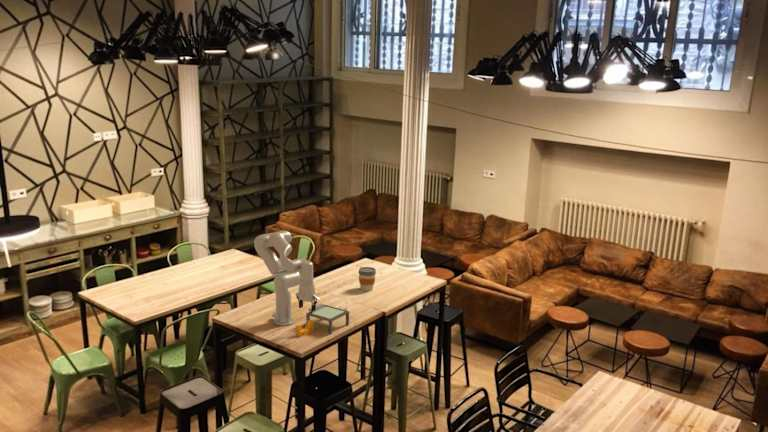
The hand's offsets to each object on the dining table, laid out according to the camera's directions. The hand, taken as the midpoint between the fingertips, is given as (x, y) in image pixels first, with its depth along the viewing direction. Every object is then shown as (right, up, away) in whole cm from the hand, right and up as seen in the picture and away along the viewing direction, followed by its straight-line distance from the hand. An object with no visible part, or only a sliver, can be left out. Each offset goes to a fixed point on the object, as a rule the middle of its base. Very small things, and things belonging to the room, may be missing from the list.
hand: (307, 309), depth 410 cm
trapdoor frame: (+11, -13, +16) cm, 23 cm away
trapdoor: (+10, -5, +15) cm, 19 cm away
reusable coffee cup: (+34, +3, +86) cm, 92 cm away
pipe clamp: (-1, -15, +5) cm, 16 cm away
